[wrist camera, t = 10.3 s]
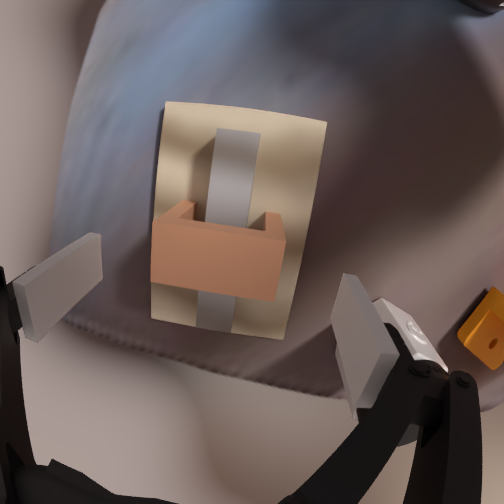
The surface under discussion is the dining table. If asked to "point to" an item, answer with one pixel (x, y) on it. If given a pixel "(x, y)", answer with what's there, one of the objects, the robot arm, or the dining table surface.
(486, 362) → the bracket
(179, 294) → the rail board
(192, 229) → the clip
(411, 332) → the jar
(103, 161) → the dining table surface
